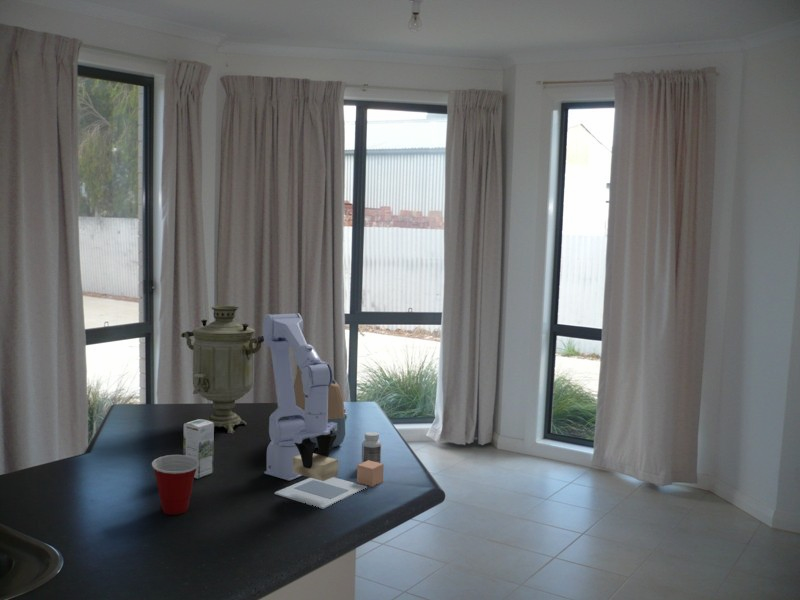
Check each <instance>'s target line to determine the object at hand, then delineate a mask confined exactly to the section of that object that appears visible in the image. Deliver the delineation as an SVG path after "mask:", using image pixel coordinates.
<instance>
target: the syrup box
mask: <svg viewBox="0 0 800 600" xmlns="http://www.w3.org/2000/svg"><path fill="white" fill-rule="evenodd" d="M207 420H208V419H201V418H200V419H199V418H198V419H195V420H191V421H188V422H185V423H183V442H182V443H183V445H182V446H183V447H182V448H183V450H182V452H183V454H182V455H186V456H190V457H194V458H195V459H197V460H198V461H199V466H198V467H197V469H196V471H195V475H194V479H201V478H204V477H206V476H209V475H212V474H213V473H214V448H215V447H214V446H215V445H214V442H215V441H214V440H215V439H214V436H215V435H214V432H215V427H214V423H213V422H210V421H207Z"/></svg>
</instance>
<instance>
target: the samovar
mask: <svg viewBox="0 0 800 600" xmlns="http://www.w3.org/2000/svg"><path fill="white" fill-rule="evenodd" d="M210 308H211V310H212V311H213V317H214V319H215V321H212V322H210V323H208V325H207V322H208V320H207V319H204V318H203V319H202V320H200V322H201V324H202V326H198V327H196V328H193V329H192V331H189V330H187V331H186V332H182V333H181V335H180V336H181V338H185V339H186V345H187V346H188V348H189V349H190V350H192V353H193V354H192V360H193V362H192V384H193V388H194V389H193V392H192V394H194V395H196V394H199V395H200V396H201V397H202V398H204V399H206V400H208V401H210V402H212V408H213V409H215V410H216V412H214V413H212V414H211V416H209V417H208V418H207V419H206V420H207V421H210V422H213V423H214V428H215V427H218V428H221V427H224V428H225V429H226V430H227V434H234V433H235V430H234V427H235V425H239V424H244V425H245V426H246V425H247V422H246V421H245V420H242V418H241V416H240V415H238V414H237V413H236V412H235V411H234V412H233V411H232V409H234V408H235V407H236V401H237V400H239V399H241V398H243V397H245V395H246V394H248V393H249V392H250V391H251V390H252V388H253V386H254V382H255V380H254V375H255V374H254V371H255V370H254V368H255V367H254V365H255V363H254V362H255V354H256V353H258V352H259V351H260V350H261V348H262V343H263V342H265V341H264V336H263V335H262V336H261V335H260V336H257V338H254V336H255V332H256V329H254V328H253V327H249V324H248V323H242V325H241V324H239V323H238V322H237V321H234V319H235V317H236V311H237V310H238V309H239V307H238V306H235V305H214V306H210ZM191 337H194V339H195V340H194V342H193V344H192V338H191ZM255 344H256V346H255ZM233 432H234V433H233Z"/></svg>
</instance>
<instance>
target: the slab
mask: <svg viewBox="0 0 800 600" xmlns="http://www.w3.org/2000/svg"><path fill="white" fill-rule="evenodd" d="M338 466H339V460H338V459H337V458H333V457H329V456H328V457H326V456H322V455H319V454H318V453H314V452H313V459H312V466H311V468H310V469H309V468H305V467H303V463H302V459H301V455H298V456H295V457H293V473H297V474H300V475H303V476H304V477H307V478H314V479H317V480H321V481H325V480H328V479H330V478H332V477H336V476H338V475H339V470H338V468H339V467H338ZM303 476H302V477H303Z"/></svg>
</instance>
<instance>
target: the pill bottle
mask: <svg viewBox="0 0 800 600" xmlns="http://www.w3.org/2000/svg"><path fill="white" fill-rule="evenodd" d="M379 438H380V433H379V432H376V431H367V432H364V440H362V443H361V463H363V462H365V461H368V460H370V461H374V462H378V463H381V457H382V455H381V454H382V453H381V452H382V442H381V441H380V440H379Z"/></svg>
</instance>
